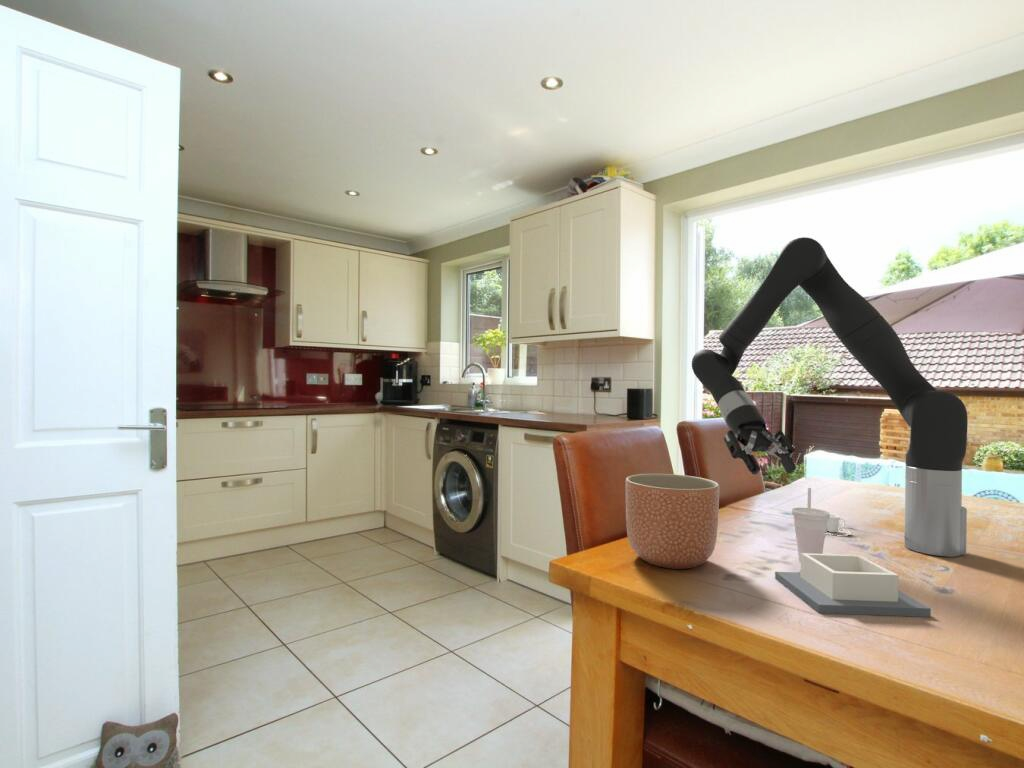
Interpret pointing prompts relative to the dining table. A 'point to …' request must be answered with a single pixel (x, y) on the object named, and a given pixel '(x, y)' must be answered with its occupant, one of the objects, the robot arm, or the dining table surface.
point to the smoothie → (810, 528)
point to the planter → (672, 518)
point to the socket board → (849, 586)
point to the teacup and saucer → (834, 524)
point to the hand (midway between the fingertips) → (774, 471)
